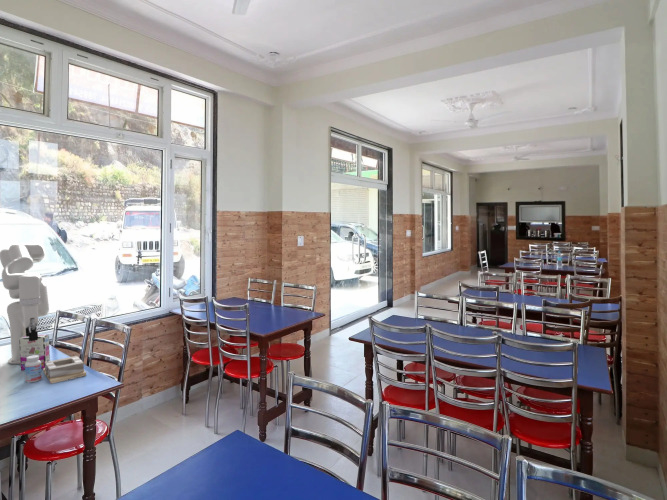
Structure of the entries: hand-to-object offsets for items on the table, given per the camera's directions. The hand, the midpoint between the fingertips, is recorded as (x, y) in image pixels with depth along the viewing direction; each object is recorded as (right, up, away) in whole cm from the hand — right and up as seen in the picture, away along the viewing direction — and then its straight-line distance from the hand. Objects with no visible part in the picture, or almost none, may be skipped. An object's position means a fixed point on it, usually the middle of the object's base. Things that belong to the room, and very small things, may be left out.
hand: (31, 338), depth 180 cm
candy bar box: (-11, -19, +16) cm, 27 cm away
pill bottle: (0, -20, +2) cm, 20 cm away
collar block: (+8, -19, +10) cm, 23 cm away
